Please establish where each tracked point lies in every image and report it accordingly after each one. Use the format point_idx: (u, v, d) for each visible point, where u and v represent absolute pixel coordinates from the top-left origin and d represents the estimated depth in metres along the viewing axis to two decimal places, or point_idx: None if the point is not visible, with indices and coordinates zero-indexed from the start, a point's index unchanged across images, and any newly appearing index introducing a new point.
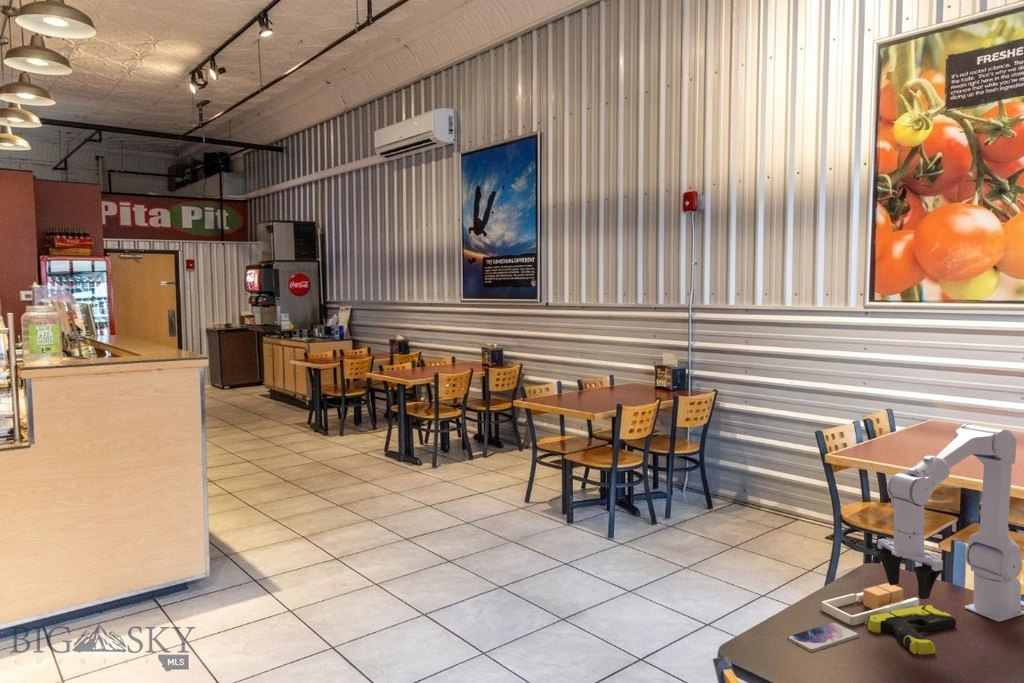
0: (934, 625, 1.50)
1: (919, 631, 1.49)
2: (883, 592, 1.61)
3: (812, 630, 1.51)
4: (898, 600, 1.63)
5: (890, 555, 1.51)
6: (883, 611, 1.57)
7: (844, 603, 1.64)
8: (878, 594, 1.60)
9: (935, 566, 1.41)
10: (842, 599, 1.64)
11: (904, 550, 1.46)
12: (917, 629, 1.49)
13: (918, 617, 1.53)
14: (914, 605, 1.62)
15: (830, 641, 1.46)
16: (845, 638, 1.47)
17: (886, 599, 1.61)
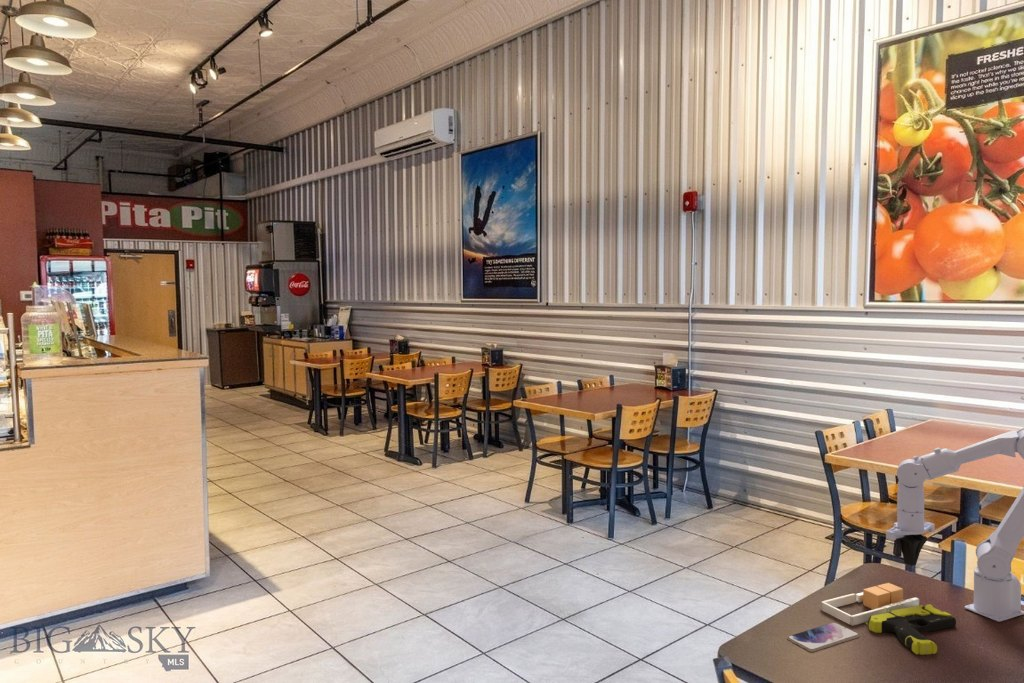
0: (935, 624, 1.50)
1: (920, 631, 1.49)
2: (883, 592, 1.61)
3: (812, 630, 1.51)
4: (898, 600, 1.63)
5: None
6: (883, 611, 1.57)
7: (844, 603, 1.64)
8: (878, 594, 1.60)
9: None
10: (842, 599, 1.64)
11: None
12: (918, 629, 1.49)
13: (918, 617, 1.53)
14: (914, 605, 1.62)
15: (830, 641, 1.46)
16: (845, 638, 1.47)
17: (886, 599, 1.61)
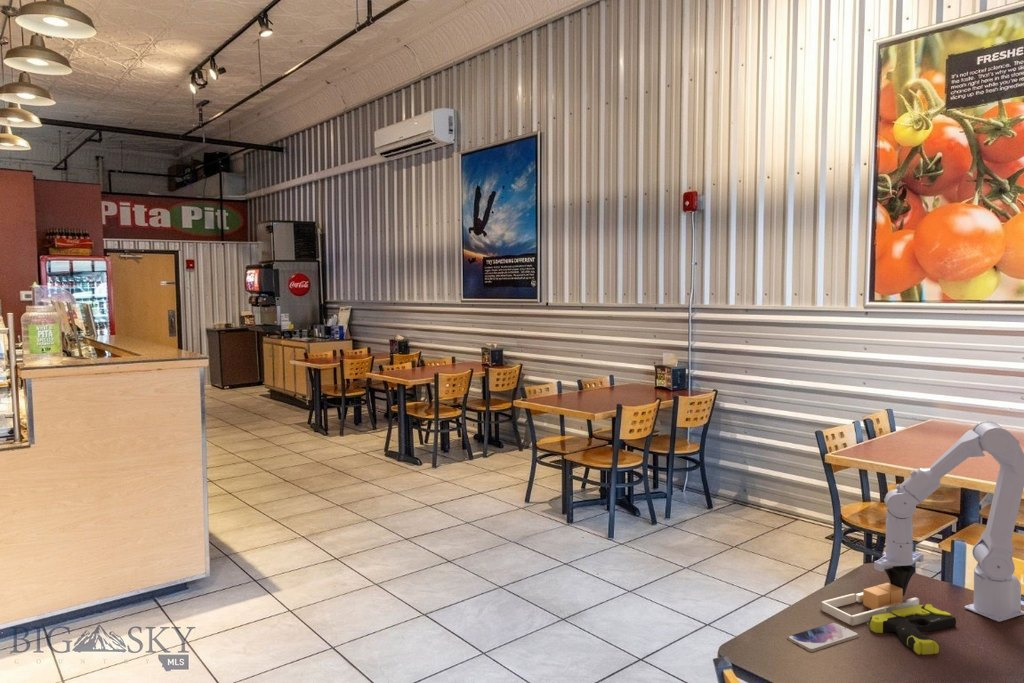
0: (935, 624, 1.50)
1: (921, 631, 1.49)
2: (883, 592, 1.61)
3: (812, 630, 1.51)
4: (897, 600, 1.63)
5: None
6: (883, 611, 1.57)
7: (844, 603, 1.64)
8: (878, 594, 1.60)
9: None
10: (842, 599, 1.64)
11: None
12: (919, 629, 1.49)
13: (918, 617, 1.53)
14: (914, 605, 1.62)
15: (830, 641, 1.46)
16: (845, 638, 1.47)
17: (886, 599, 1.61)
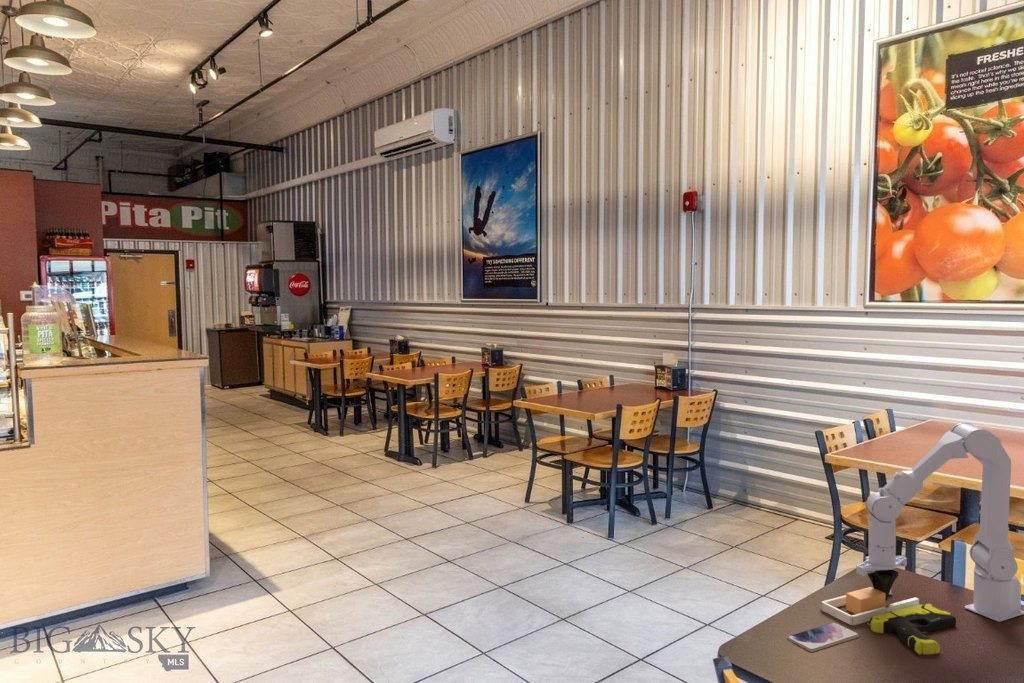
0: (935, 624, 1.50)
1: (921, 631, 1.49)
2: (866, 596, 1.59)
3: (812, 630, 1.51)
4: (880, 604, 1.60)
5: None
6: (883, 611, 1.57)
7: (844, 603, 1.64)
8: (861, 598, 1.58)
9: None
10: (842, 599, 1.64)
11: None
12: (919, 629, 1.49)
13: (919, 617, 1.53)
14: (914, 605, 1.62)
15: (830, 641, 1.46)
16: (845, 638, 1.47)
17: (869, 603, 1.59)
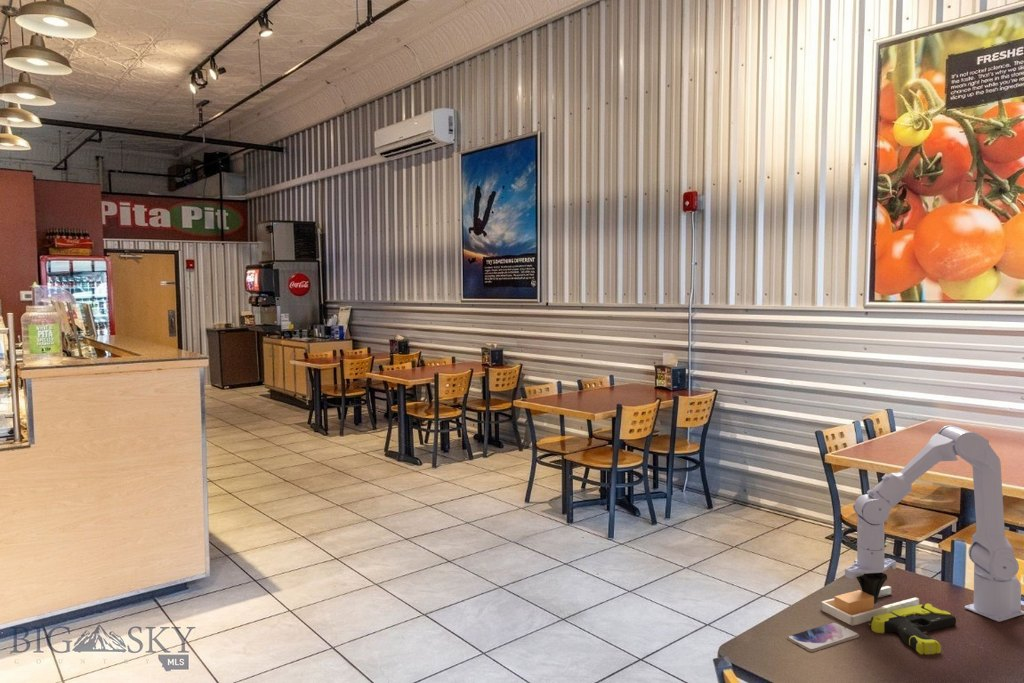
0: (936, 624, 1.51)
1: (922, 630, 1.49)
2: (854, 600, 1.58)
3: (812, 630, 1.51)
4: (868, 608, 1.59)
5: None
6: (883, 611, 1.57)
7: None
8: (849, 602, 1.57)
9: None
10: None
11: None
12: (920, 629, 1.49)
13: (919, 617, 1.53)
14: (914, 605, 1.62)
15: (830, 641, 1.46)
16: (845, 638, 1.47)
17: (857, 606, 1.57)
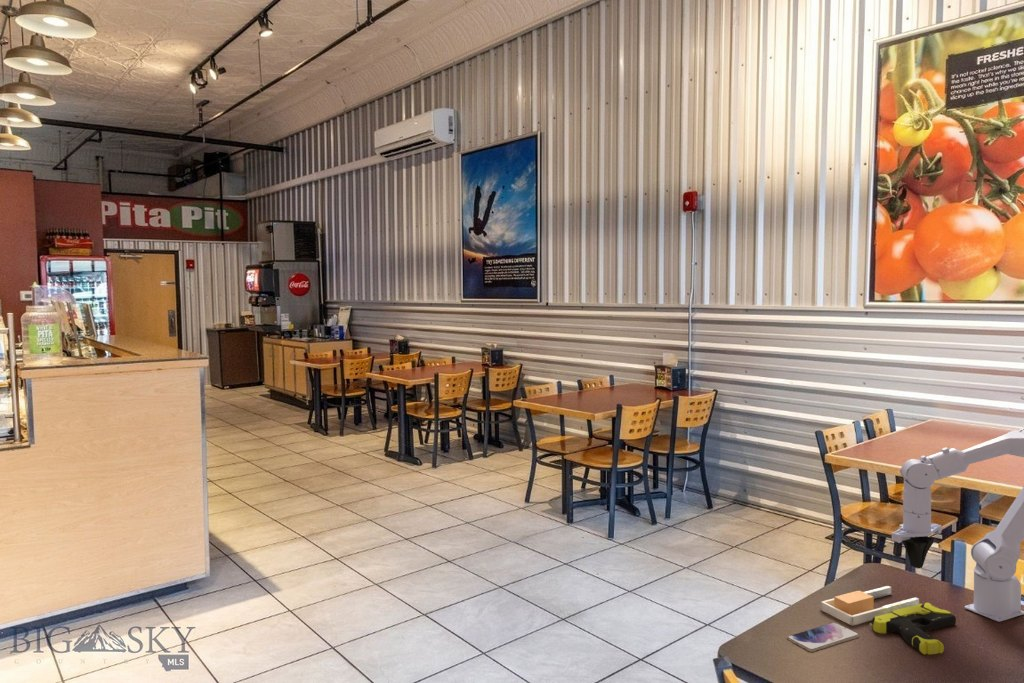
0: (937, 623, 1.51)
1: (923, 630, 1.49)
2: (854, 600, 1.58)
3: (812, 630, 1.51)
4: (868, 608, 1.59)
5: None
6: (883, 611, 1.57)
7: None
8: (849, 602, 1.57)
9: None
10: None
11: None
12: (921, 628, 1.49)
13: (919, 616, 1.53)
14: None
15: (830, 641, 1.46)
16: (845, 638, 1.47)
17: (857, 607, 1.57)
